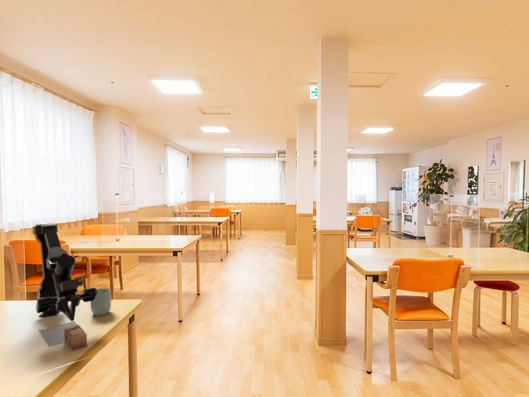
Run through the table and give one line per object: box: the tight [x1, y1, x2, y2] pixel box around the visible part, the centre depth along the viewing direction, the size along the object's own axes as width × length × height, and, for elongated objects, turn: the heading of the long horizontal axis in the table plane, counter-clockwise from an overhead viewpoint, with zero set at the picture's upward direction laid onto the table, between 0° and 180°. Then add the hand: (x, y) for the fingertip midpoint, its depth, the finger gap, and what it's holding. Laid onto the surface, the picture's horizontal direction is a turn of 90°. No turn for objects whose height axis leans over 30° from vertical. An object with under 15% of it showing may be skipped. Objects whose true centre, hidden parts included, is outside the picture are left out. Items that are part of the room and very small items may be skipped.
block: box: [64, 324, 88, 352], centre depth 115 cm, size 5×4×10 cm
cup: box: [89, 288, 112, 317], centre depth 142 cm, size 8×8×10 cm
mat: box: [38, 321, 78, 348], centre depth 123 cm, size 18×12×1 cm, turn 44°
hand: (72, 320), depth 117 cm, fingers closed
